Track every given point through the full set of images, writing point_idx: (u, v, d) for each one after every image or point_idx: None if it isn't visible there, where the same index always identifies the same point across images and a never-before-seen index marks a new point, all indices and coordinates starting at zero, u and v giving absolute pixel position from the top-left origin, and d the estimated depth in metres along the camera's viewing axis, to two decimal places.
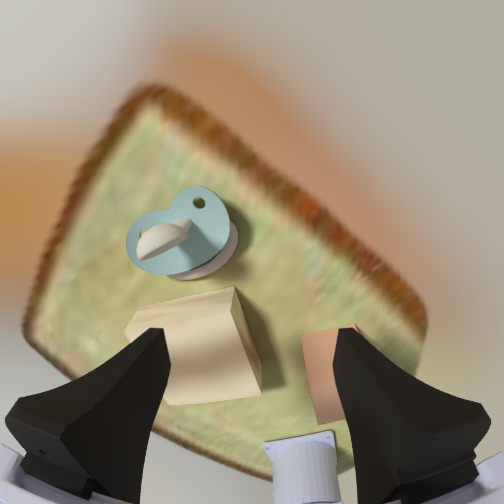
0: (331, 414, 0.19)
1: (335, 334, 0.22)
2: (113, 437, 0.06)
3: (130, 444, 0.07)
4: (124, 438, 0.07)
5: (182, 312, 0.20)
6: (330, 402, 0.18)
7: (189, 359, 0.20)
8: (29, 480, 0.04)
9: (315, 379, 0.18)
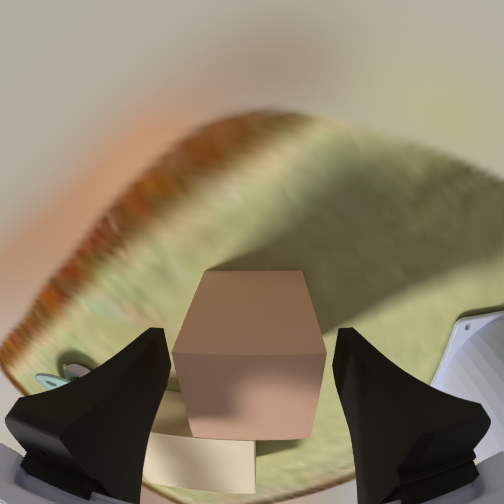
0: (285, 423, 0.09)
1: None
2: (113, 437, 0.06)
3: (130, 444, 0.07)
4: (124, 438, 0.07)
5: None
6: (243, 422, 0.09)
7: (180, 467, 0.15)
8: (29, 480, 0.04)
9: None
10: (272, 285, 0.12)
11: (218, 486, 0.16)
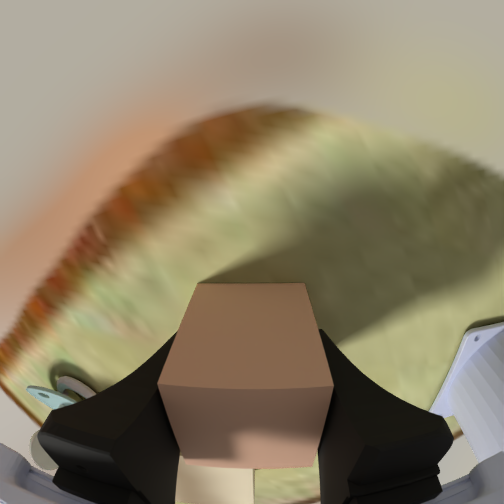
0: (285, 453, 0.08)
1: None
2: (154, 445, 0.06)
3: (167, 451, 0.07)
4: (163, 445, 0.07)
5: None
6: (239, 453, 0.08)
7: None
8: (29, 480, 0.04)
9: None
10: (271, 301, 0.11)
11: (215, 501, 0.14)
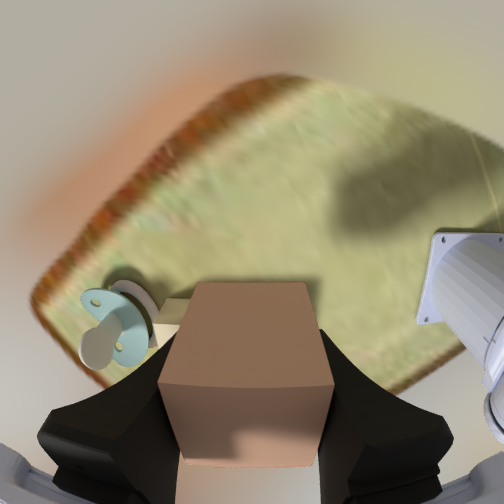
0: (285, 453, 0.08)
1: None
2: (154, 445, 0.06)
3: (167, 451, 0.07)
4: (163, 445, 0.07)
5: None
6: (239, 452, 0.08)
7: None
8: (29, 480, 0.04)
9: None
10: (272, 300, 0.11)
11: None
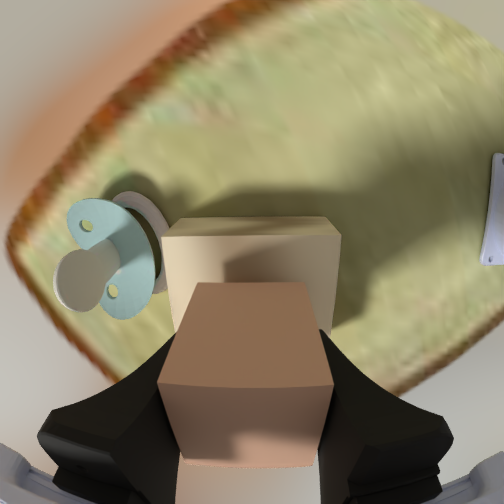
0: (285, 453, 0.08)
1: None
2: (154, 445, 0.06)
3: (167, 451, 0.07)
4: (163, 445, 0.07)
5: None
6: (239, 452, 0.08)
7: None
8: (29, 480, 0.04)
9: None
10: (271, 300, 0.11)
11: None
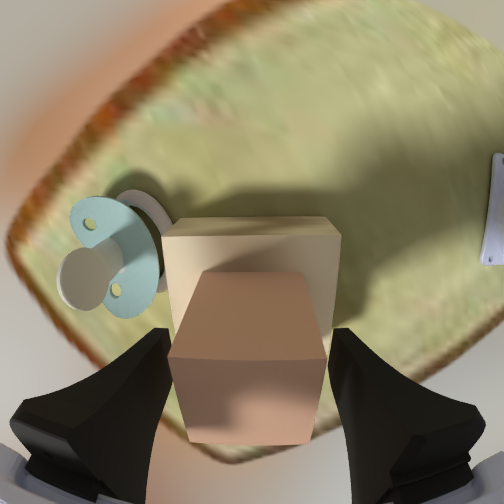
0: (283, 429, 0.09)
1: None
2: (119, 438, 0.06)
3: (136, 445, 0.07)
4: (130, 439, 0.07)
5: None
6: (240, 427, 0.09)
7: None
8: (29, 480, 0.04)
9: None
10: (271, 287, 0.12)
11: None
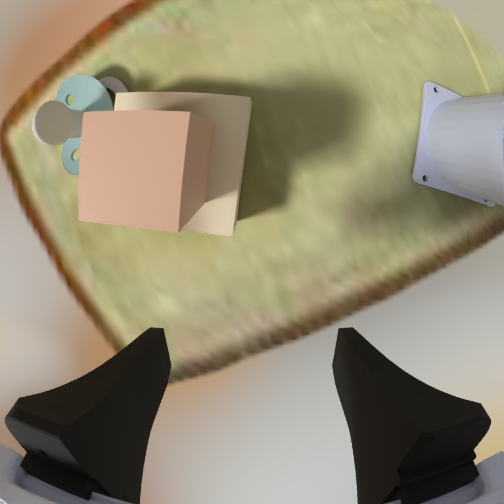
0: (153, 200, 0.11)
1: None
2: (113, 437, 0.06)
3: (130, 444, 0.07)
4: (124, 438, 0.07)
5: None
6: (119, 195, 0.11)
7: None
8: (29, 480, 0.04)
9: None
10: None
11: None
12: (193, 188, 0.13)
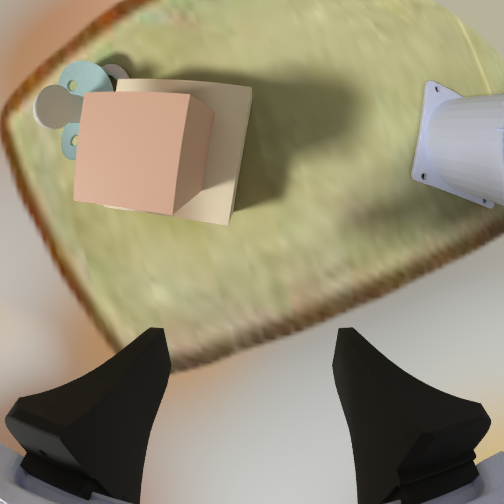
0: (149, 181, 0.10)
1: None
2: (113, 437, 0.06)
3: (130, 444, 0.07)
4: (124, 438, 0.07)
5: None
6: (115, 175, 0.10)
7: None
8: (29, 480, 0.04)
9: None
10: None
11: None
12: (190, 173, 0.12)
